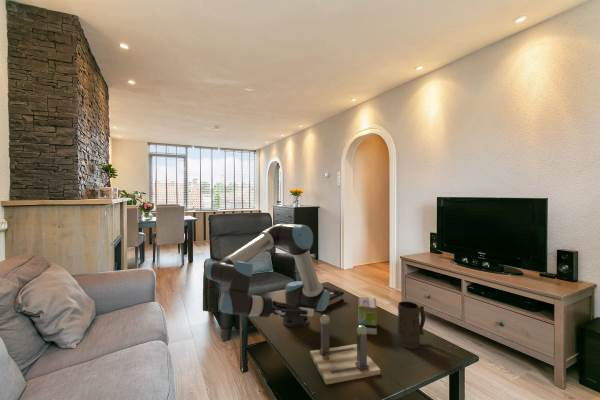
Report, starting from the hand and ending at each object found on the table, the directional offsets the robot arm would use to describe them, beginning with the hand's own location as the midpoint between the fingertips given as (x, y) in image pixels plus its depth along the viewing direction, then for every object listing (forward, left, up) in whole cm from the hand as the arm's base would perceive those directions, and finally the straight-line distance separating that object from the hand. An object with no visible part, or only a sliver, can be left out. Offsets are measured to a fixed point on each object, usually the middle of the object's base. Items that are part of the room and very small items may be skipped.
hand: (312, 312), depth 120 cm
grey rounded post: (+7, +20, -22) cm, 30 cm away
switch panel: (0, +14, -25) cm, 28 cm away
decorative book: (-70, +30, -25) cm, 80 cm away
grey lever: (-7, +8, -22) cm, 25 cm away
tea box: (-28, +41, -25) cm, 56 cm away
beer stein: (-8, +55, -25) cm, 61 cm away
